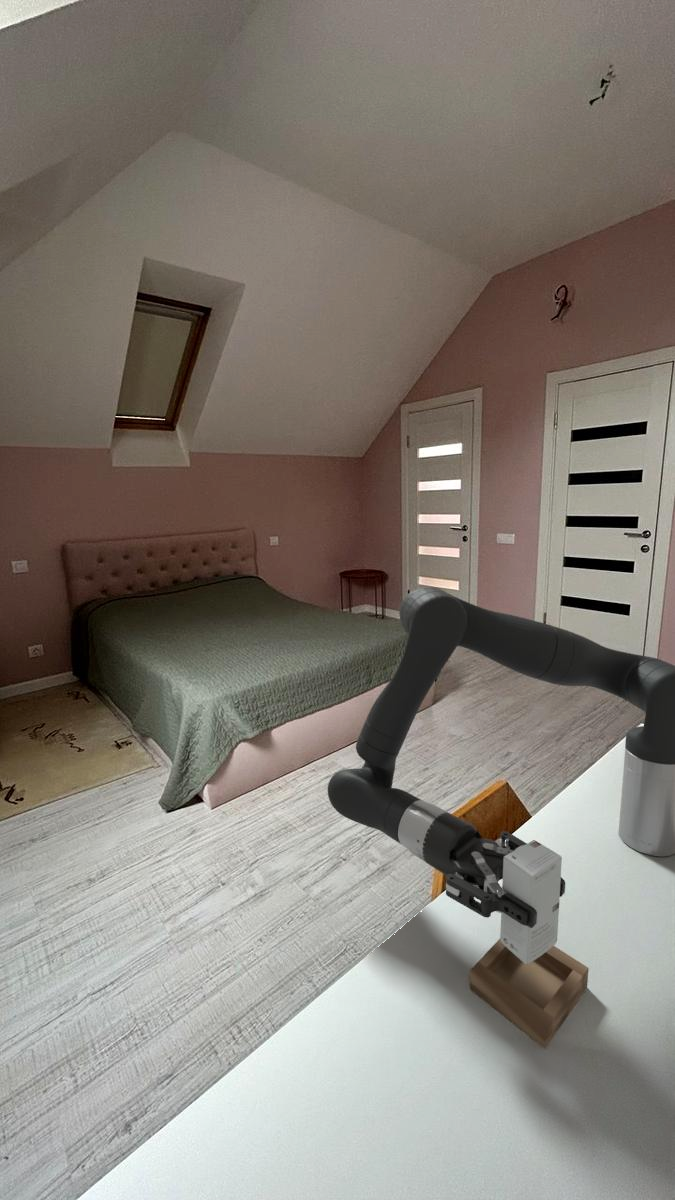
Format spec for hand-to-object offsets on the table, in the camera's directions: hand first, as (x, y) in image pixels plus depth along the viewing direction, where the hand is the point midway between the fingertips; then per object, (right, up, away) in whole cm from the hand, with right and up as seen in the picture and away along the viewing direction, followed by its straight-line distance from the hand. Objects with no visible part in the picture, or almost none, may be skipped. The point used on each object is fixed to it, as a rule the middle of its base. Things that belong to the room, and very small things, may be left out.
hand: (549, 903), depth 61 cm
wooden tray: (-1, -13, +4) cm, 14 cm away
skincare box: (-1, -7, +3) cm, 8 cm away
